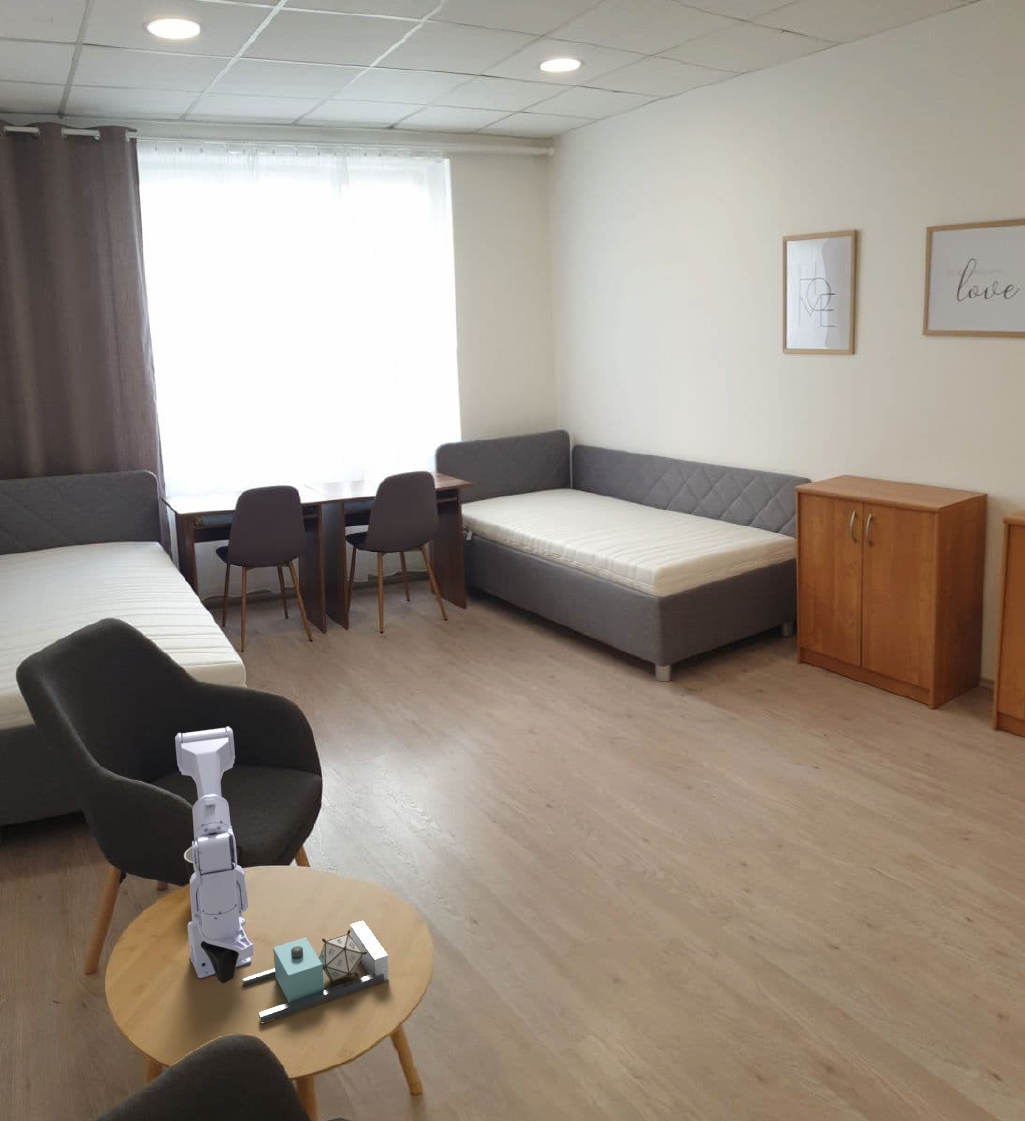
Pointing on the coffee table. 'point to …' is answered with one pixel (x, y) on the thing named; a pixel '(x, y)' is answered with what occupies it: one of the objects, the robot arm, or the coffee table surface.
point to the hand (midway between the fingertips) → (226, 979)
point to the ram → (298, 969)
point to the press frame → (372, 962)
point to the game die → (340, 957)
